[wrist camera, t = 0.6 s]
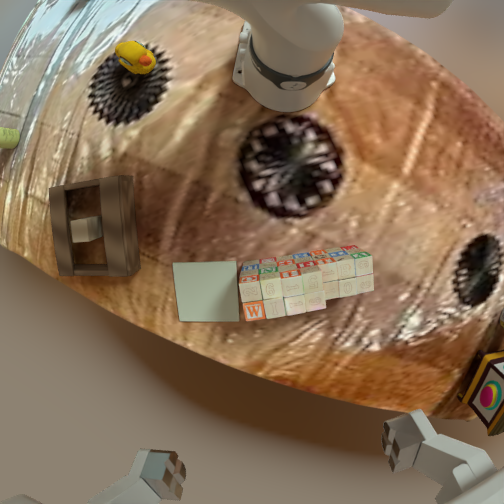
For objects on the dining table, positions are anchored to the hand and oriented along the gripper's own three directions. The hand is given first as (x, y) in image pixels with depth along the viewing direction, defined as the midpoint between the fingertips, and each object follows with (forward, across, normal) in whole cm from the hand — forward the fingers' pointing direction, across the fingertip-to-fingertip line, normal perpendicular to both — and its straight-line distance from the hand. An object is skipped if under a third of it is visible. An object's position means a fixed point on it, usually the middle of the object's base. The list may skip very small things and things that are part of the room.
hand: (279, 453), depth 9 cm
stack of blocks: (+44, -6, +7) cm, 45 cm away
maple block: (+44, +32, -9) cm, 55 cm away
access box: (+44, +32, -9) cm, 55 cm away
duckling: (+44, +16, -39) cm, 61 cm away
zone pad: (+44, +12, +8) cm, 46 cm away
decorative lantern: (+44, -60, +52) cm, 91 cm away
